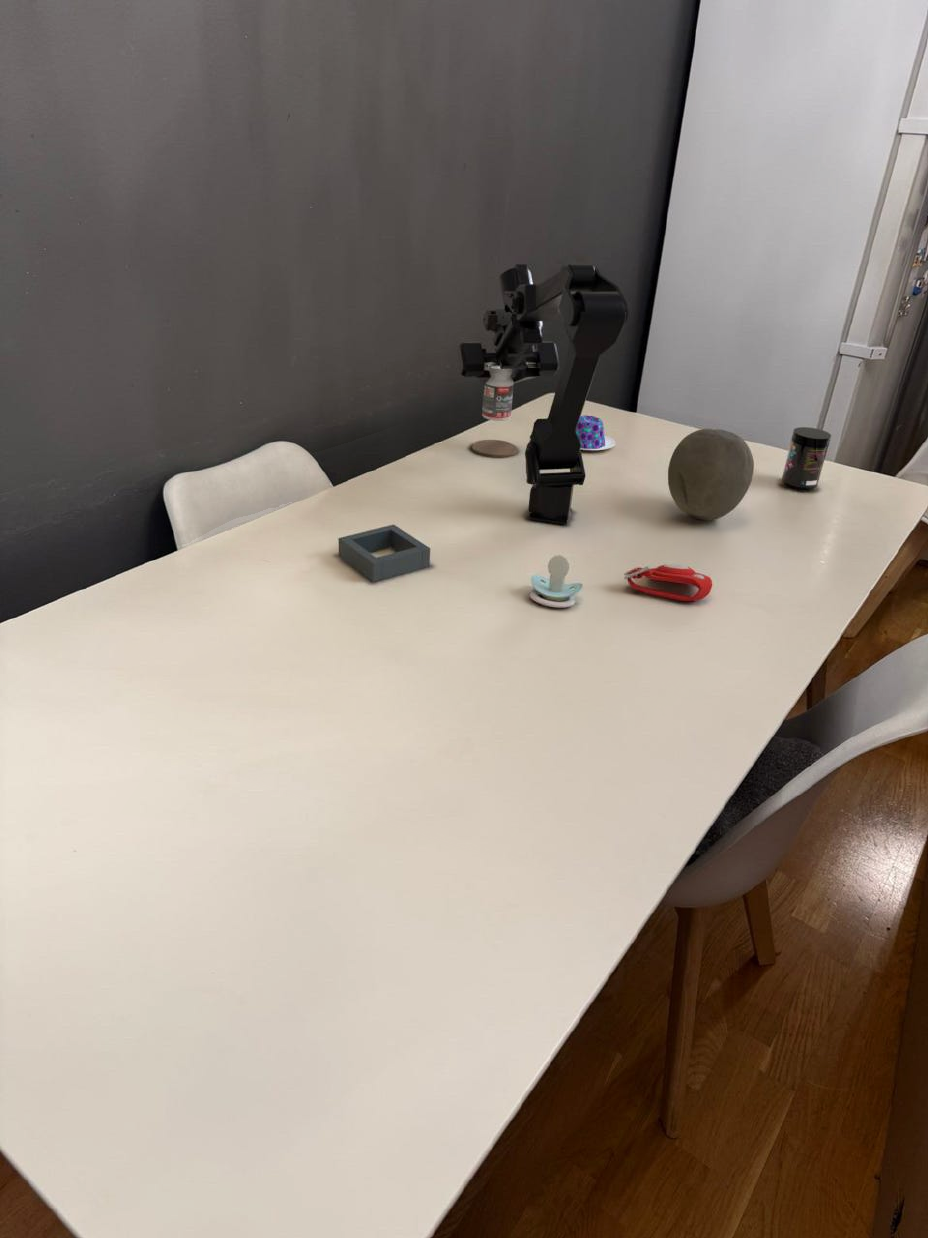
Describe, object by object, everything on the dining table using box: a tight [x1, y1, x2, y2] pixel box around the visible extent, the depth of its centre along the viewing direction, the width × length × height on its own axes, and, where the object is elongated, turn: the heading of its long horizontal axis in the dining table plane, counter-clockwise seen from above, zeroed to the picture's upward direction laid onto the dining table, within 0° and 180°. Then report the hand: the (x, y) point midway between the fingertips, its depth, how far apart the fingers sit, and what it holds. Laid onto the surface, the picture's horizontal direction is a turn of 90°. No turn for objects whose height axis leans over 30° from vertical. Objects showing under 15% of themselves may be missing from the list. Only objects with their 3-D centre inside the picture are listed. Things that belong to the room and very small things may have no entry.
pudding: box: [576, 415, 616, 451], centre depth 182 cm, size 12×12×5 cm
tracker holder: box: [623, 564, 713, 602], centre depth 127 cm, size 12×4×10 cm
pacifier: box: [529, 554, 583, 608], centre depth 123 cm, size 7×6×6 cm
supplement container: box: [781, 426, 832, 492], centre depth 166 cm, size 7×7×10 cm
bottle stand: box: [337, 524, 431, 583], centre depth 131 cm, size 10×10×3 cm
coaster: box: [471, 439, 518, 458], centre depth 177 cm, size 9×9×1 cm
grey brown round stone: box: [667, 428, 755, 522], centre depth 150 cm, size 14×14×15 cm
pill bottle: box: [481, 367, 515, 422], centre depth 171 cm, size 6×6×10 cm
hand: (497, 381), depth 171 cm, fingers closed on pill bottle, 6 cm apart
